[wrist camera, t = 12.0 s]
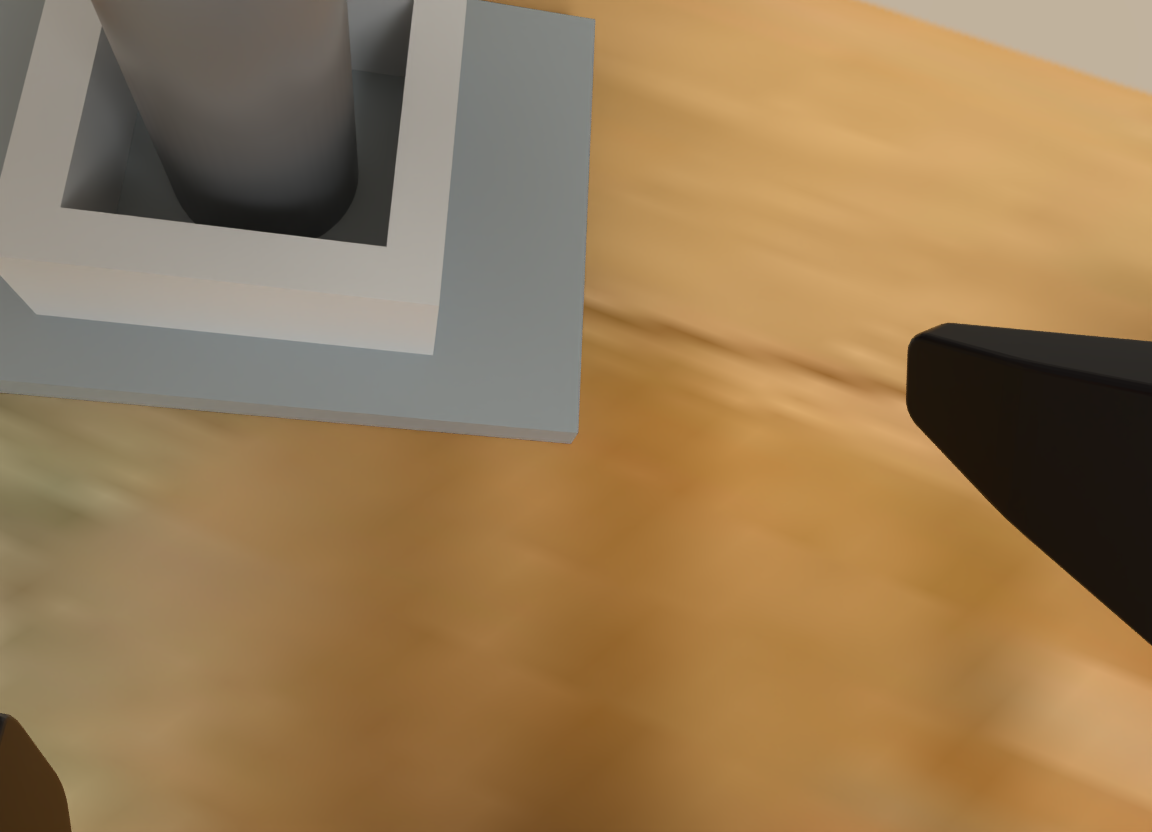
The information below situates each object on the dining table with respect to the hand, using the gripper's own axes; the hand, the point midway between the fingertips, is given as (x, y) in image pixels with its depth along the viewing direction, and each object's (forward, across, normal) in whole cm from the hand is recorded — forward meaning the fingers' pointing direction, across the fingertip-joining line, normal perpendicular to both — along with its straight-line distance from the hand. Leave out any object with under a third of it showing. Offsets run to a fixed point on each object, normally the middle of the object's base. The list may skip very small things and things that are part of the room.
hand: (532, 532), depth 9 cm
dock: (+18, 0, +1) cm, 18 cm away
